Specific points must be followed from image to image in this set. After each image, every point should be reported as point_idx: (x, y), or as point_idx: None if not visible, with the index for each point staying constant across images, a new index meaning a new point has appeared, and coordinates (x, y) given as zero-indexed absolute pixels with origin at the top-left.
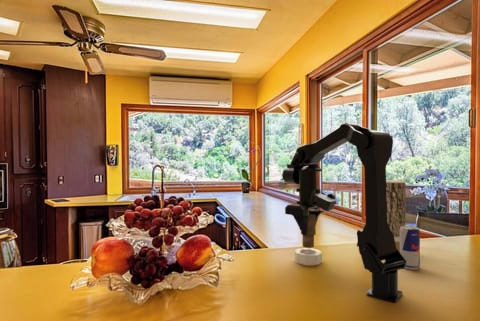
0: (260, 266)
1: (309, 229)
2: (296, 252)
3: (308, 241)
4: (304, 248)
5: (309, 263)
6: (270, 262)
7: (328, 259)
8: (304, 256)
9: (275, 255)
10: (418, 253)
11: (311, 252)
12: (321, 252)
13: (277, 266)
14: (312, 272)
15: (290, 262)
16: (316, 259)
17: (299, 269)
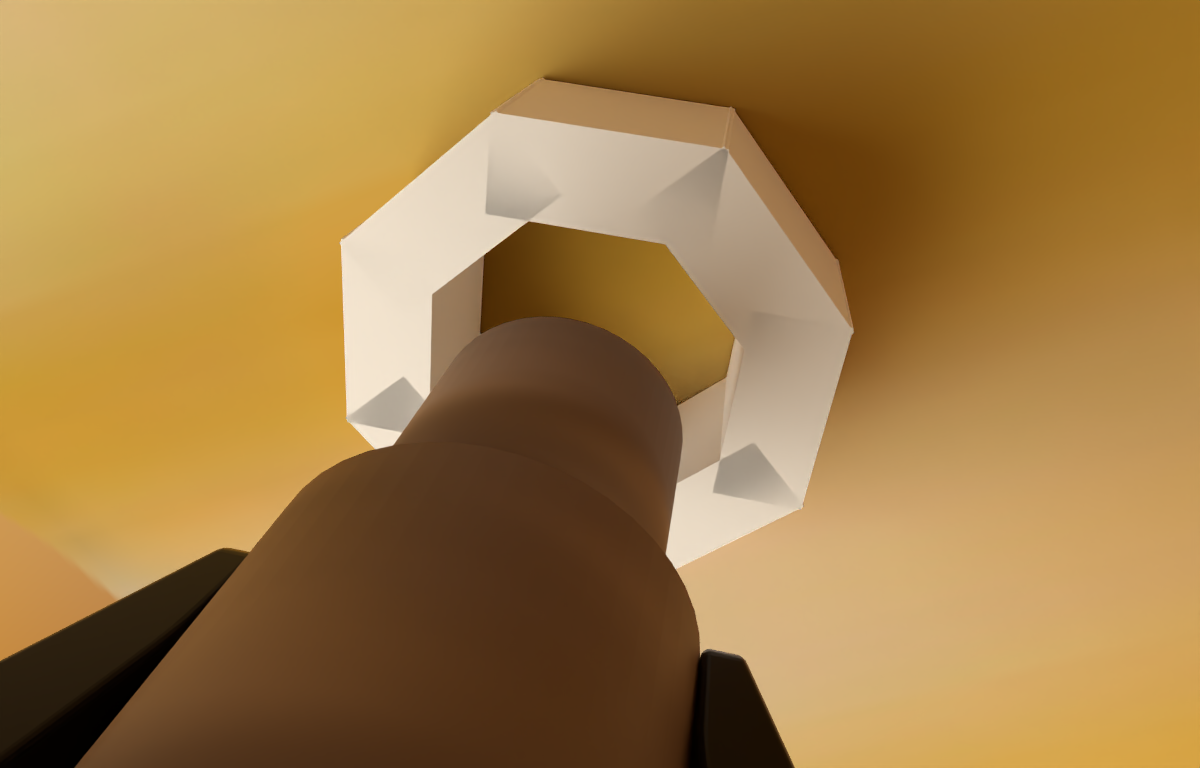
0: (1164, 755)
1: (643, 727)
2: (746, 532)
3: (658, 478)
4: None
5: (812, 231)
6: (945, 703)
7: (313, 29)
8: (840, 361)
9: None
10: None
11: (448, 337)
12: (471, 133)
13: (1077, 596)
14: (1177, 48)
15: (814, 503)
16: (739, 140)
17: (1093, 298)
